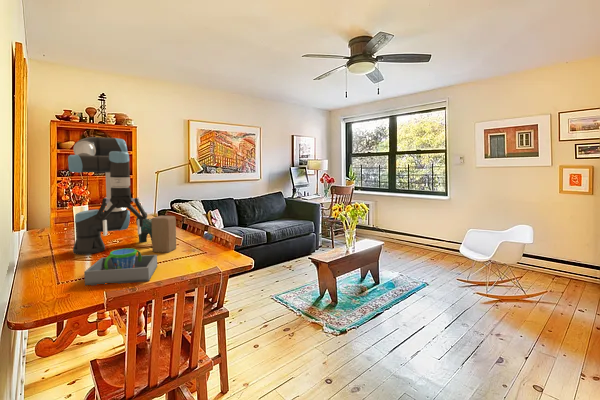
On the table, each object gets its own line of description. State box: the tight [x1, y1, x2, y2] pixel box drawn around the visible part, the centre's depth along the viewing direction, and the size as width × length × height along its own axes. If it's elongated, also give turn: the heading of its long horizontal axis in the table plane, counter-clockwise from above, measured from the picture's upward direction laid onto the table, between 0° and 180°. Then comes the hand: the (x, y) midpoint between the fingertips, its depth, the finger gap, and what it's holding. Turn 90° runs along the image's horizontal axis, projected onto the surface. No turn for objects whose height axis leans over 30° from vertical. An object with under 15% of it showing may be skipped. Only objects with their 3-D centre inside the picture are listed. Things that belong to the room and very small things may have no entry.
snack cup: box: [104, 247, 142, 270], centre depth 139 cm, size 16×10×10 cm
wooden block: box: [150, 215, 177, 254], centre depth 179 cm, size 10×10×20 cm
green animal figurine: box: [135, 211, 152, 243], centre depth 195 cm, size 20×6×20 cm, turn 55°
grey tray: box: [83, 254, 158, 287], centre depth 139 cm, size 24×20×6 cm
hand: (122, 234), depth 137 cm, fingers open, 13 cm apart
